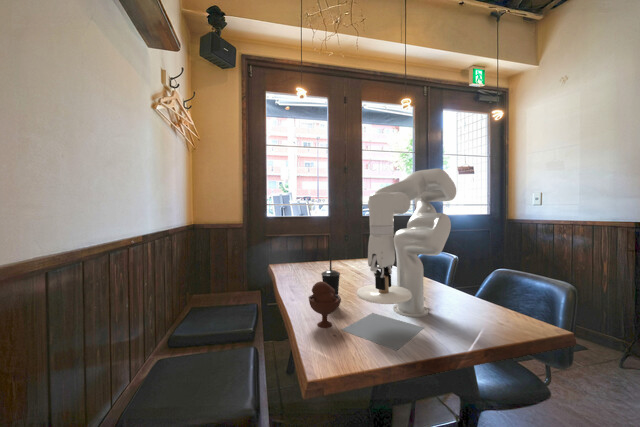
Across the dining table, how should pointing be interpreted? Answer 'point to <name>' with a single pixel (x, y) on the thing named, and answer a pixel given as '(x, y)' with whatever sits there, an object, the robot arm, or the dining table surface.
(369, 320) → the mat
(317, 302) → the ice cream bowl
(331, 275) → the drinking cup
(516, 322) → the dining table surface
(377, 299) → the lid
